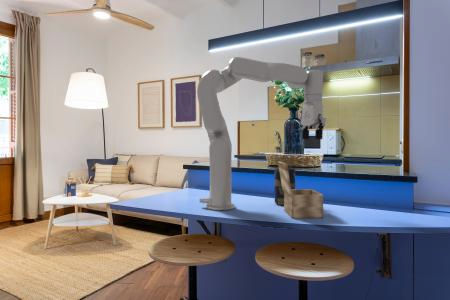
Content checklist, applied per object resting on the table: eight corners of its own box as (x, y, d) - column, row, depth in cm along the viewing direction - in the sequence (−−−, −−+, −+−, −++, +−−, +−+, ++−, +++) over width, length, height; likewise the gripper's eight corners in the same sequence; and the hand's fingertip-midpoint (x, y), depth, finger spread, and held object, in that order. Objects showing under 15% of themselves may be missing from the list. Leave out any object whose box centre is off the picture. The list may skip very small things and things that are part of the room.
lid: (292, 194, 124) (289, 195, 124) (284, 189, 138) (282, 189, 138) (287, 163, 123) (284, 164, 123) (279, 161, 137) (277, 161, 137)
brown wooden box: (291, 218, 124) (292, 195, 124) (284, 210, 138) (284, 189, 138) (322, 218, 124) (323, 194, 124) (312, 210, 138) (312, 189, 138)
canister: (295, 206, 145) (295, 166, 145) (273, 206, 147) (274, 166, 147) (294, 202, 155) (295, 165, 154) (274, 202, 157) (275, 164, 156)
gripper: (294, 101, 147) (293, 138, 148) (317, 96, 131) (316, 139, 131) (308, 102, 150) (307, 139, 150) (333, 97, 133) (332, 139, 134)
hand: (311, 139), depth 141 cm, fingers open, 9 cm apart
